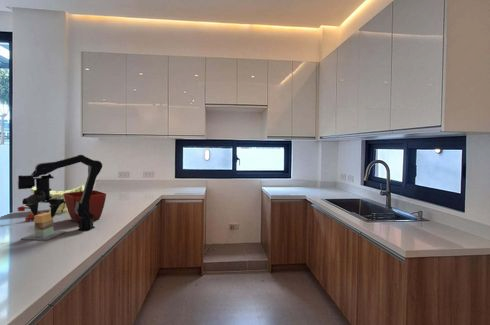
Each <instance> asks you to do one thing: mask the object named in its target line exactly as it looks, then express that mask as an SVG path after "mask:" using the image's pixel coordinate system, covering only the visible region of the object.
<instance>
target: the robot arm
mask: <svg viewBox="0 0 490 325" xmlns="http://www.w3.org/2000/svg"><path fill="white" fill-rule="evenodd" d="M78 163H81V164H83V165H86V166H88V167H87V179H86V181H85V184H84V191H83V195H82V198H81V200H80V202H76V206H75V208H74V209H75V212H76V214H77V215H79V216H80V217H81V218H80V219H79V223H78V228H77V231H90V230H92V229H94V228H96V226H94V220H93V216H94V215H93V214H91V213H90V212H89V208H90V204H89V201H90V197H91V194H92V190H94V186H95V183H96V179H97V177H98V175H99V174H100V173H101V171H102V169H103V163H102V162H101V161H100V160H98V159H96V160H95V159H91V158H89V157H87V156H85V155H84V154H78V155H75V156H72V157H71V156H70V157H67V158H64V159H63V158H62V159H60V160H56V161H49V162H41V163H37V164H35V166H34V170H33V172H32V173H31V174H30V175H18V176H17V177H18V179H17V190H28V189H29V190H31V188H33V187H35V186H36V190H34V193H32V194H31V195H29V196H28V197H24V198H23V199H22V205H24V207H29V208H30V209H29V210H30V211H32V214H33V215H34V216H35V215H38V214H39V212H38V209H39V204H42V203H44V204H49V205H48V207H49V208H50V209H51V218H53V219H54V217H55V215H56V214H57V213H56V211H57V209H58V207H59V206H60V205H61V204H62V203H64V199H63V198H58V197H57V198H53V199H51V198H52V196H50V191H53V190H52V188H50V179H54V178H55V177H54V176H53V175H52V174H51V173H52V172H54V171H56V170H58V169H61V168H65V167H68V166H71V165H76V164H78Z"/></svg>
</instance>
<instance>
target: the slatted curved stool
mask: <svg viewBox="0 0 490 325" xmlns="http://www.w3.org/2000/svg"><path fill="white" fill-rule="evenodd" d="M84 188H85V184H84V183H83V184H82V185H79V186H78V187H74V188H72V189H68V190H52V191H50V196H52V198H51V199H53V198H63V199H64V203H62V204H61V205H60V206H59V207H58V209H57V211H56V213H55V214H61V213H62V214H65V212H66V213H69V212H68V209H67V206H66V202H65V198H64V193H72V192H82V191H84ZM34 190H36V185H35V186H34V187H32V188H30V192H31V193H32V194H34ZM47 213H51V208H50V209H49V210H48V212H47Z"/></svg>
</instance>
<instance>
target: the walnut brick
mask: <svg viewBox="0 0 490 325" xmlns="http://www.w3.org/2000/svg"><path fill="white" fill-rule="evenodd" d="M50 227H53V228H54V219H53V220H51V221H47V222H44V223H35V222H34V231H35V230H45V229H47V228H50Z"/></svg>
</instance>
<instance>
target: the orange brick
mask: <svg viewBox="0 0 490 325" xmlns="http://www.w3.org/2000/svg"><path fill="white" fill-rule="evenodd" d="M51 220H53V221H54V217H53V218H51V213H48V212H44V213H42V214H39V213H38V214H37V215H35V216H34V221H33V222H34V224H35V223H44V222H47V221H51Z"/></svg>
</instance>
